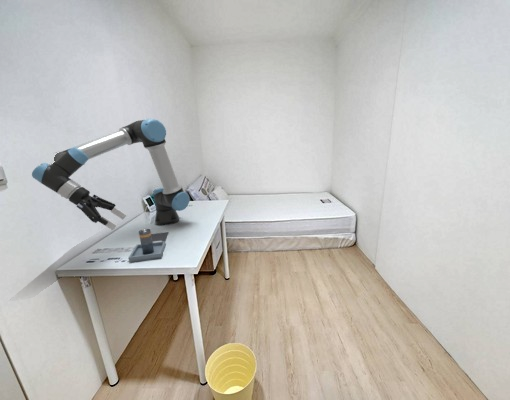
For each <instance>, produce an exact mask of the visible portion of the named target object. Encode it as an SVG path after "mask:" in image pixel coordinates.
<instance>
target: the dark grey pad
mask: <svg viewBox="0 0 510 400" xmlns="http://www.w3.org/2000/svg"><path fill="white" fill-rule="evenodd" d="M169 234H170V233H169V231H167V232H166V231H165V232H157V233H151V236H152V242H153V243H154V242H162V241H165V242H166V240H167V238H168V235H169Z"/></svg>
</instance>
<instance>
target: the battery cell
mask: <svg viewBox="0 0 510 400" xmlns="http://www.w3.org/2000/svg"><path fill="white" fill-rule="evenodd" d="M151 234H152V231H151V229H150V228H143V229H140V230H139V231H138V236H139V241H140V244H141V247H142V252H143V254H144V255H147V254H151V253H153V252H154V248H153V242H152V236H151Z"/></svg>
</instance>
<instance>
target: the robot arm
mask: <svg viewBox="0 0 510 400" xmlns="http://www.w3.org/2000/svg"><path fill="white" fill-rule="evenodd" d="M166 136H167V129H166V126H165V125H164V124H163V123H162V122H161V121H160V120H158V119H156V118H155V119H154V118H146V119H142V120H140V119H139V120H136V121H133V122H131V123H130V124H128V125H125V126H122V127H120V128H119V129H118V131H115V132H112V133H108V134H107V135H104V136H101V137H99V138H96V139H92V140H90V141H88V142H84V143H81V144H79V145H76V146H73V147H70V148H68V149H66V150H61V151H58V152H59V153H57V152H56V153H57V154H56V155H55V157H54V161H55V162H54V163H53V164H52V163H51V164H48V163H46V162H43V163H41V164H40V165H37V166H36V167H35V168H34V169H33V170H32V172H31V177H32V178H33V179H34V180H36V182H37V181H38V182H39V183H40V184H42V185H44V186H45V187H46V188H48V189H50V190H52V192H55V193H56V194H58V195H60V196H61V197H62V198H65V200H68V201H69V202H70V203H73V204H74V205H75V206H76V208H78V209H79V210H81V212H82V213H83V214H84V215H85V216H87V218H88V219H89V220H90V221H91V222H92V223H94V224H96V223H98V222H99V224H102V225H103V226H105V227H106V228H108V229H110V230H111V231H114V229H115V228H116V227H117V225H118V224H116V223H115V222H113V221H112V220H110V219H109V218H107V217H105V216H103V215H101V213H100V212H99V210H98V209H97V208H101V209H104V210H109V211H110V212H111V213H112V214H113V215H114V216H116V217H117V218H120V219H121V220H125V219H126V217H127V216H128V214H126V213H125V212H123V211H122V210H121V209H119V208H117V207H116V206H117V204H115V203H114V202H112V201H109V200H106V199H105V198H102V197H100V196H98V195H96V194H92V196H91V195H90V193H91V192H90V190H89V189H86V188H85V187H84V186H81V185H80V184H79V183H78V182H76V181H75V180H73V179H71V178H70V177H72V175H74V174H75V173H76V172H77V171H78V170H79V169H80V168H81V167H83V166H84V165H85V164H86V163H87V162H88V161H89V160H92V159H93V158H95V157H99V156H101V155H103V154H106V153H109V152H111V151H114V150H116V149H118V148H120V147H124V146H125V145H127V146H131V145H135V144H137V143H142V145H143V148H144V149H146V150H147V151H149V155H150V157H151V160H152V162H153V164H154V167H155V169H156V173H157V175H158V178H159V180H160V183H161V185H162V187H158V188H155V189H153V191H152V192H153V194H152V195H153V199H154V205H155V211H156V212H155V216H154V217H155V218H154V224H155V225H156V226H169V225H172V224H176V223H178V222H179V221H180V216H179V214H178V212H177V211H179V212H180V211H184V210H185V209H187V208H188V206H189V205H190V196H189V194H188V193H187V192H185V191H184V189H183V186H182V185H180V184H179V183H178V180H177V177H176V174H175V172H174V169H173V166H172V163H171V161H170V158H169V154H168V152H167V150H166V147H165V145H166V143H167V141H166Z"/></svg>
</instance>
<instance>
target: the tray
mask: <svg viewBox="0 0 510 400" xmlns="http://www.w3.org/2000/svg"><path fill="white" fill-rule="evenodd" d="M166 244H167V243H166V241H162V242H154V243H153V248H154V252H153V253H151V254H147V255H144V254H143V252H142V247H141V243H140V244H136V245H135V246H134V248H133V249H132V251H131V253H130V255H129V256H128V263H138V262H146V261H152V260H161V259H162V258H163V255H164V250H165V248H166Z"/></svg>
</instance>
